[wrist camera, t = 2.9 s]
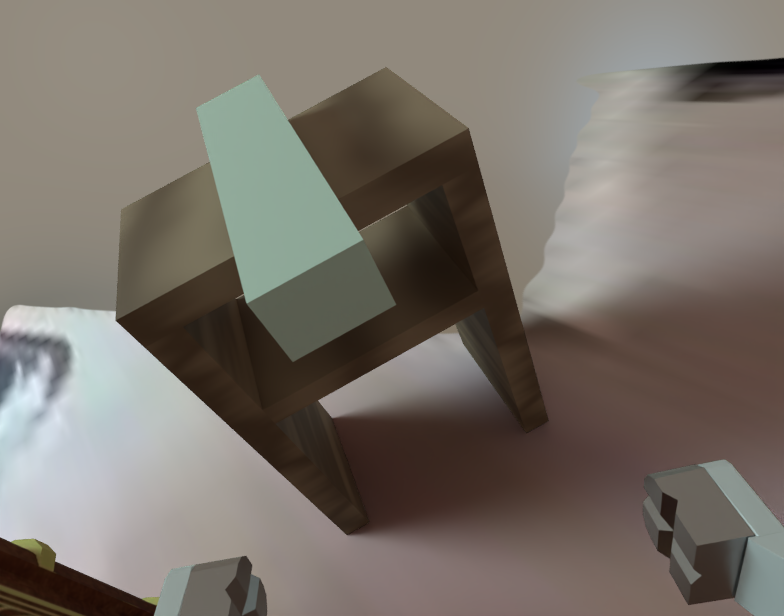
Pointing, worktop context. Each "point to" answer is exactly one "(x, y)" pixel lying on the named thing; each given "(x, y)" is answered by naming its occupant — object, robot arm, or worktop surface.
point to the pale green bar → (287, 225)
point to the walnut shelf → (390, 253)
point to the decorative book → (57, 587)
